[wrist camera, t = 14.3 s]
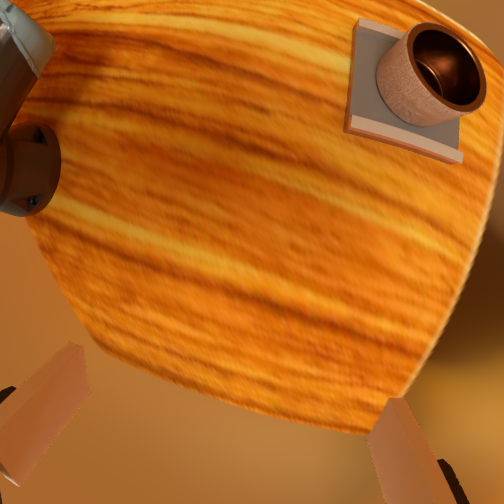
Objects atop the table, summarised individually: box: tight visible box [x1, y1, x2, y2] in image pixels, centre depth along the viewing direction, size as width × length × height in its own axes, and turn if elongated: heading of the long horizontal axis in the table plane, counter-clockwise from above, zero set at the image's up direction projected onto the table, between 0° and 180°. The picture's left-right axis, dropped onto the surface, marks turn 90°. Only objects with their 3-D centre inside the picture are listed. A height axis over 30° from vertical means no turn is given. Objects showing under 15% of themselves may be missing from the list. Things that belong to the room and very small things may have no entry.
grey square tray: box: [344, 17, 463, 164], centre depth 29 cm, size 16×16×3 cm
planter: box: [376, 22, 487, 127], centre depth 24 cm, size 11×11×10 cm
